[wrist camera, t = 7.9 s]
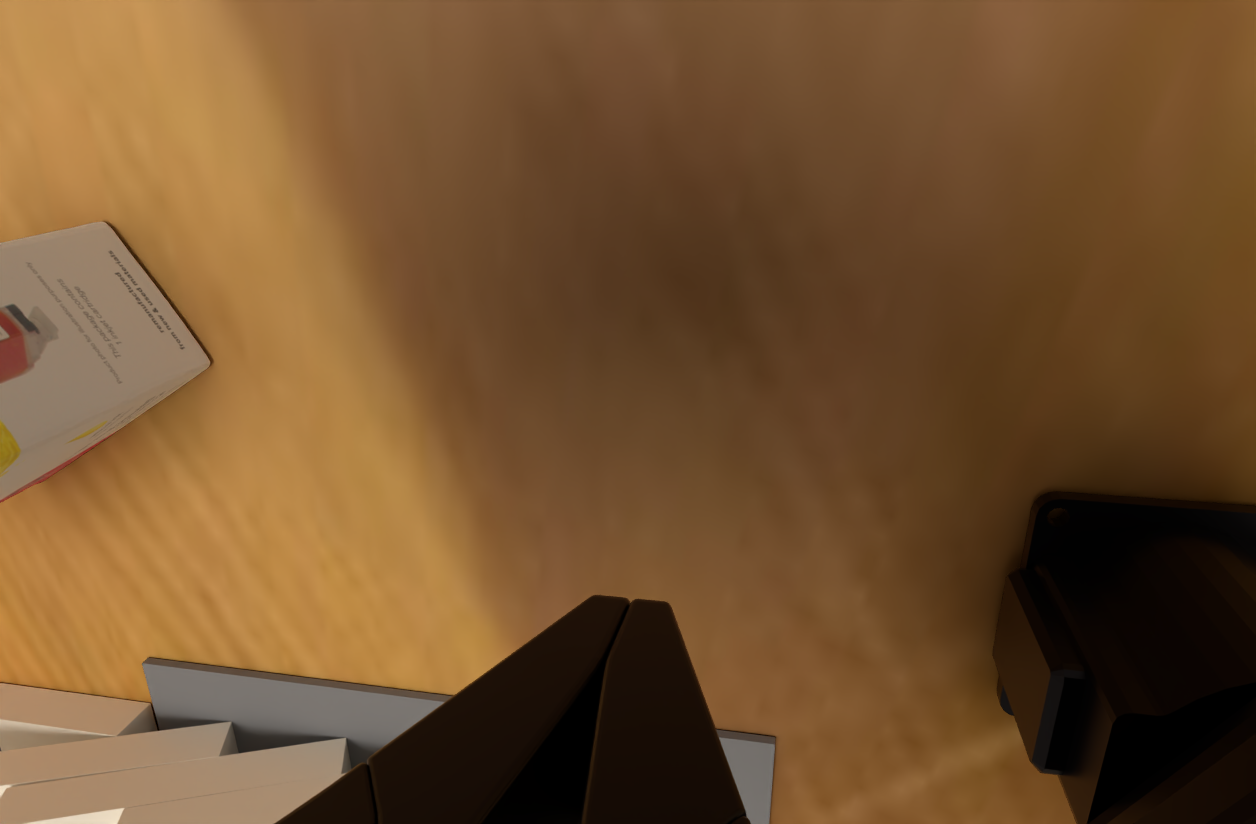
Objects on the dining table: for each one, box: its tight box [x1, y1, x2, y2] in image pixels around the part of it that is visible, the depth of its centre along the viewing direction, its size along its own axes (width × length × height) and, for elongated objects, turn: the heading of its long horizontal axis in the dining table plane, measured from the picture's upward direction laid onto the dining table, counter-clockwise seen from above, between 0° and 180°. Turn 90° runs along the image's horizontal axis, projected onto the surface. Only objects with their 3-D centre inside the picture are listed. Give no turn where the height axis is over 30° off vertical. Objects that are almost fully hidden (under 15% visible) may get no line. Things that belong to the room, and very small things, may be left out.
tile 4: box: [0, 721, 239, 798], centre depth 27 cm, size 2×5×10 cm
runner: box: [142, 658, 775, 824], centre depth 28 cm, size 21×9×1 cm, turn 90°
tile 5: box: [0, 683, 158, 751], centre depth 30 cm, size 2×5×10 cm
